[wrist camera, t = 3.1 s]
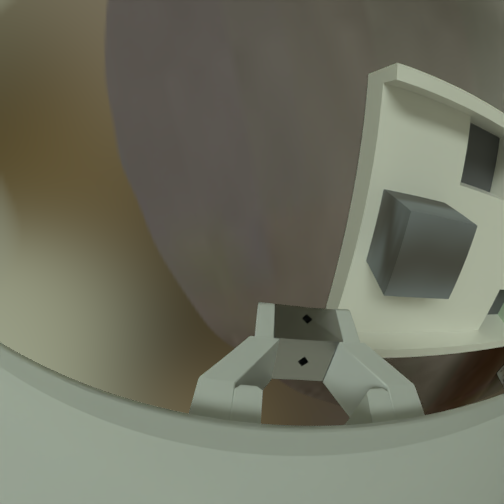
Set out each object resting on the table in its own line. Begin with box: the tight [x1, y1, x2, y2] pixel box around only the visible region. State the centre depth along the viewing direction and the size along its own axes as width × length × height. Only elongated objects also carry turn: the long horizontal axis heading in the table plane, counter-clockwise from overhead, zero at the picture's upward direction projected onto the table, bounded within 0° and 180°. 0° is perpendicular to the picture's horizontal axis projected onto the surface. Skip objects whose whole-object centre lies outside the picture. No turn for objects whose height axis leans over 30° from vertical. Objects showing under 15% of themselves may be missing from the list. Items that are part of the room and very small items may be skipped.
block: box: [366, 189, 477, 299], centre depth 14 cm, size 5×5×4 cm
